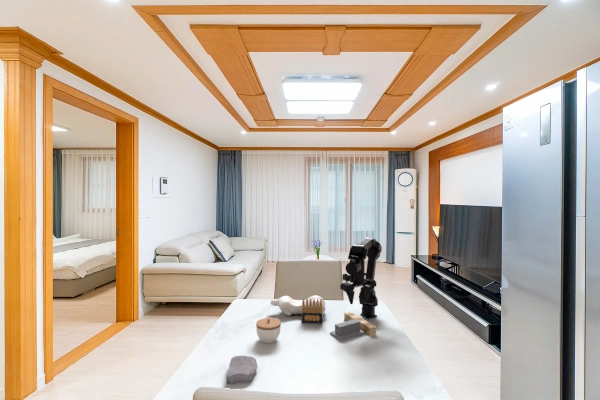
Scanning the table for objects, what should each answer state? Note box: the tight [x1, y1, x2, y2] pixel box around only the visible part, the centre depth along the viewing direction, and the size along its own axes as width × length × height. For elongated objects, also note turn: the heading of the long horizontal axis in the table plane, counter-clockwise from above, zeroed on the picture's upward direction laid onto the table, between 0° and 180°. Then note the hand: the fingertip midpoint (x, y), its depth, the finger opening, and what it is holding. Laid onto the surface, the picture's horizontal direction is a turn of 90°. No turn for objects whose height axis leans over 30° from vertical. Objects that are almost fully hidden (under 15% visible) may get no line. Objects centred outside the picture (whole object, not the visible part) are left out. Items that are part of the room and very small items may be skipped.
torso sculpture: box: [270, 294, 327, 317], centre depth 160 cm, size 16×11×30 cm
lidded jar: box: [255, 317, 282, 344], centre depth 129 cm, size 11×11×9 cm
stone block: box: [226, 355, 258, 385], centre depth 104 cm, size 12×5×10 cm
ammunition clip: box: [300, 298, 324, 325], centre depth 148 cm, size 11×2×12 cm, turn 87°
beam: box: [343, 311, 377, 337], centre depth 143 cm, size 20×4×4 cm, turn 27°
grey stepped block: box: [329, 319, 366, 342], centre depth 135 cm, size 14×8×5 cm, turn 121°
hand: (358, 302), depth 143 cm, fingers open, 9 cm apart
